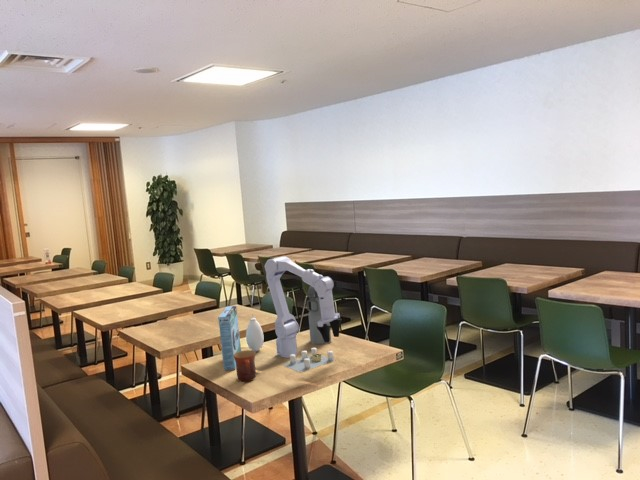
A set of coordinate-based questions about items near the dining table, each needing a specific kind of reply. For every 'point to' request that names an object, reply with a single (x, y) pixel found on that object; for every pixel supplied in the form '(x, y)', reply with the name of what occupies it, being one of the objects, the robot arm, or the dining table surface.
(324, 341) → the robot arm
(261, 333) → the sauce bottle
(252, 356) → the mug
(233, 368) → the blue cereal box
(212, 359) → the dining table surface
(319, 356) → the nut
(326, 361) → the plate
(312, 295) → the water bottle
